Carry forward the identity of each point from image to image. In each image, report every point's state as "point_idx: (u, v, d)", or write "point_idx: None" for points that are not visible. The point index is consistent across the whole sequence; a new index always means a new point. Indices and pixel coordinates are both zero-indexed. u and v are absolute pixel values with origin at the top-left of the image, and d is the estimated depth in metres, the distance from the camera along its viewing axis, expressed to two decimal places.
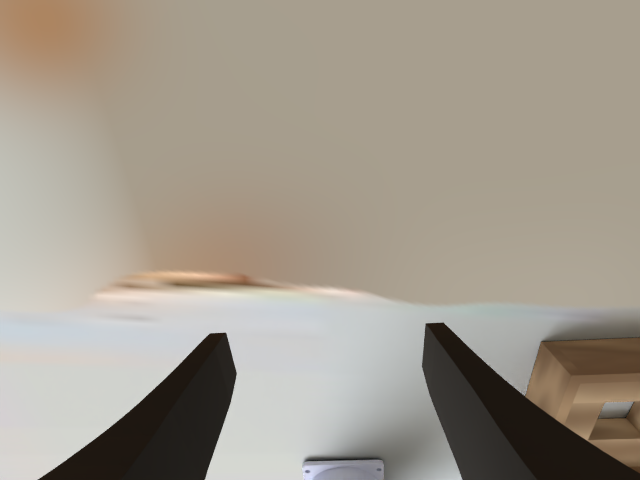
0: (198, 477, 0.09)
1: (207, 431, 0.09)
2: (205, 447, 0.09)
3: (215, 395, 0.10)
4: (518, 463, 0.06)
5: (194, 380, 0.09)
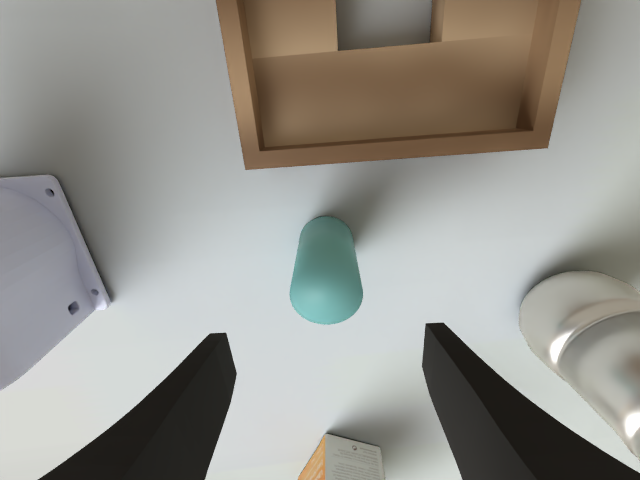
0: (198, 477, 0.09)
1: (207, 431, 0.09)
2: (205, 447, 0.09)
3: (215, 395, 0.10)
4: (518, 463, 0.06)
5: (194, 380, 0.09)
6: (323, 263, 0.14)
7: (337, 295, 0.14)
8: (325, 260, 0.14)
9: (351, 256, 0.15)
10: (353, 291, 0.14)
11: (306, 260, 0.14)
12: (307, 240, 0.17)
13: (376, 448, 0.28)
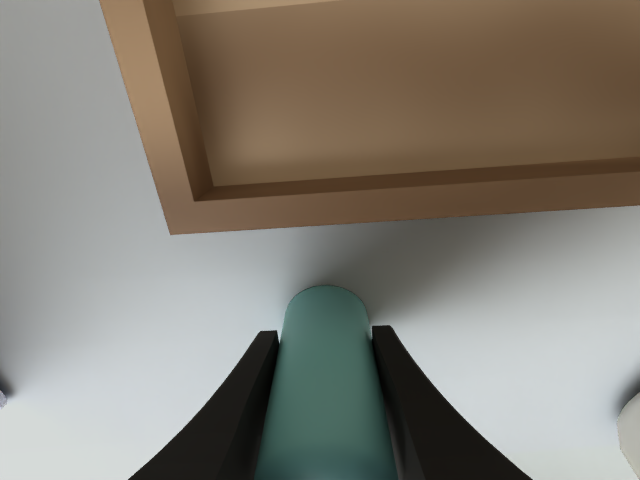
0: None
1: None
2: None
3: None
4: (417, 466, 0.06)
5: (258, 378, 0.09)
6: (320, 440, 0.07)
7: None
8: (324, 429, 0.07)
9: (373, 390, 0.08)
10: None
11: (287, 417, 0.07)
12: (294, 345, 0.09)
13: None
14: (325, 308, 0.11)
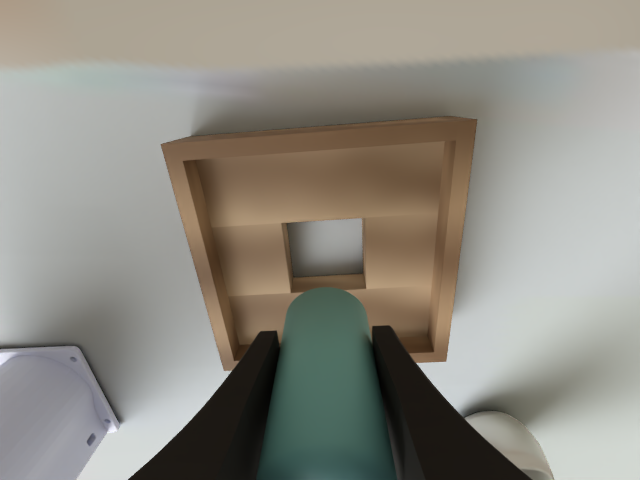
0: None
1: None
2: None
3: (271, 393, 0.10)
4: (418, 466, 0.06)
5: (258, 378, 0.09)
6: (323, 443, 0.07)
7: None
8: (328, 432, 0.07)
9: (374, 393, 0.08)
10: None
11: (291, 419, 0.07)
12: (296, 347, 0.10)
13: None
14: (327, 310, 0.11)
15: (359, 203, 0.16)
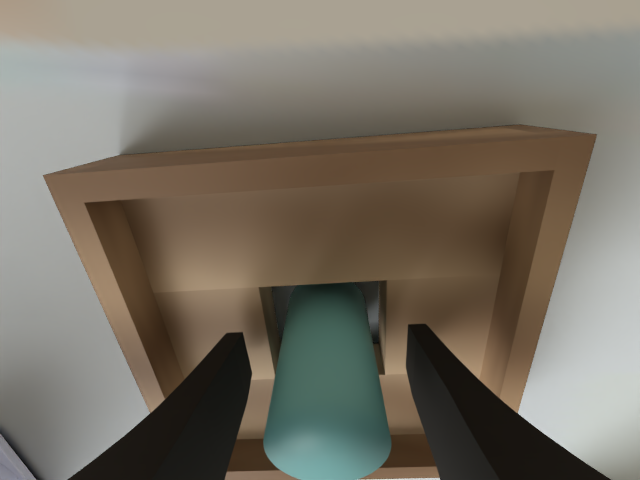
0: (219, 477, 0.09)
1: (227, 431, 0.09)
2: (225, 447, 0.09)
3: (234, 394, 0.10)
4: (484, 464, 0.06)
5: (215, 379, 0.09)
6: (324, 401, 0.07)
7: (347, 447, 0.08)
8: (328, 392, 0.08)
9: (370, 365, 0.09)
10: (375, 443, 0.08)
11: (295, 383, 0.08)
12: (299, 326, 0.10)
13: None
14: (328, 294, 0.12)
15: (378, 260, 0.10)
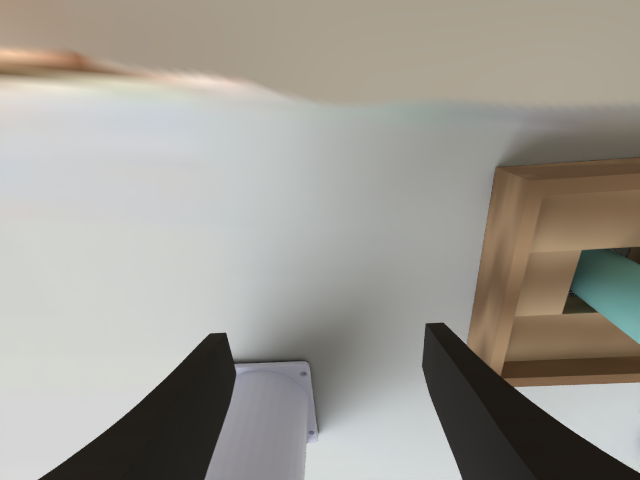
0: (198, 478, 0.09)
1: (207, 431, 0.09)
2: (205, 447, 0.09)
3: (215, 395, 0.10)
4: (518, 464, 0.06)
5: (194, 380, 0.09)
6: None
7: None
8: None
9: None
10: None
11: None
12: (619, 272, 0.17)
13: None
14: (616, 255, 0.18)
15: None
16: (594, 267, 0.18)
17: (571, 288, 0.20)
